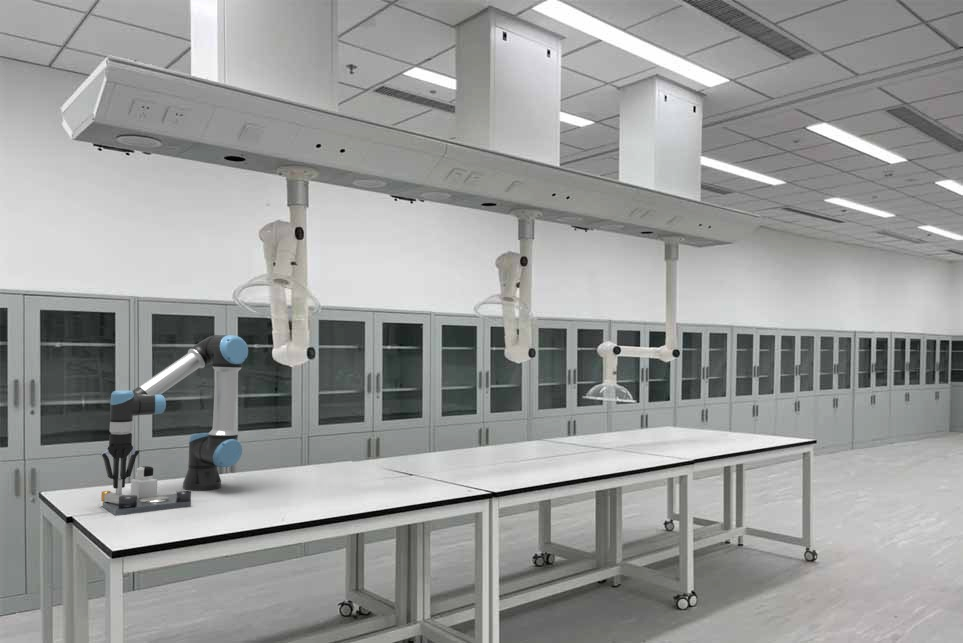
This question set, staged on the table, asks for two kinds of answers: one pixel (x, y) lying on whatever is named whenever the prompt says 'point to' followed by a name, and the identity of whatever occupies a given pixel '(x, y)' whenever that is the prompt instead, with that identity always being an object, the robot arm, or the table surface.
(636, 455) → the table surface
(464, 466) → the table surface
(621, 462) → the table surface
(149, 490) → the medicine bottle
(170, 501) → the dark grey base plate
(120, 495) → the ball lever handle
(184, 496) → the knob
